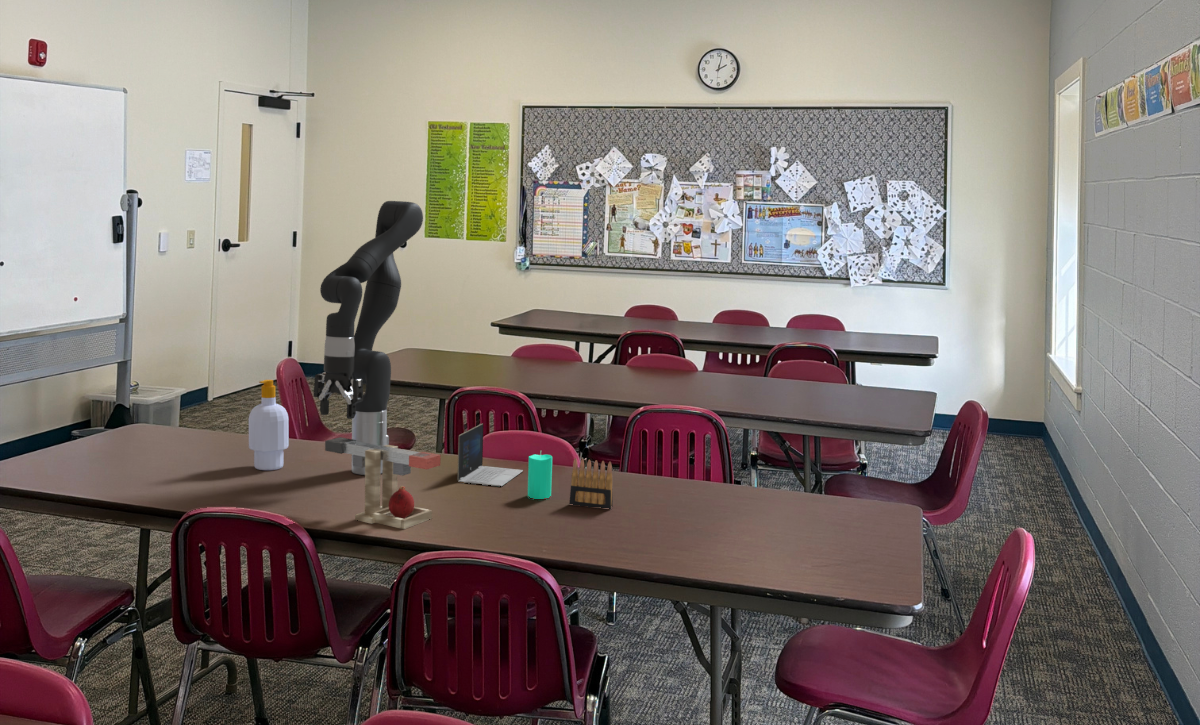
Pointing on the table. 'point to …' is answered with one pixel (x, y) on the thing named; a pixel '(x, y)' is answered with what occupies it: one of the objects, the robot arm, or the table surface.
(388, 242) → the robot arm
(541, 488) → the candle
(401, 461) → the lever
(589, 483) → the ammunition clip
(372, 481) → the press stand
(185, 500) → the table surface
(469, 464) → the laptop
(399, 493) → the onion
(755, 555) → the table surface
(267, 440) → the soap bottle
